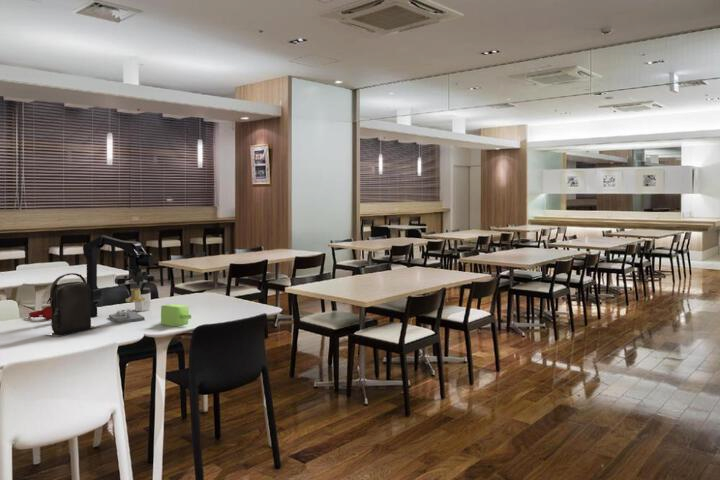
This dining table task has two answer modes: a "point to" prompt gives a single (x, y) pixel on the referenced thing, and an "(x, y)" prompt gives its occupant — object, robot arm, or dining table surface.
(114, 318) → the plate
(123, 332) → the dining table surface
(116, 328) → the dining table surface
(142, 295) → the jar
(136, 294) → the brass gear
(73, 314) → the shoulder bag
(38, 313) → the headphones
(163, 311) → the gearbox
